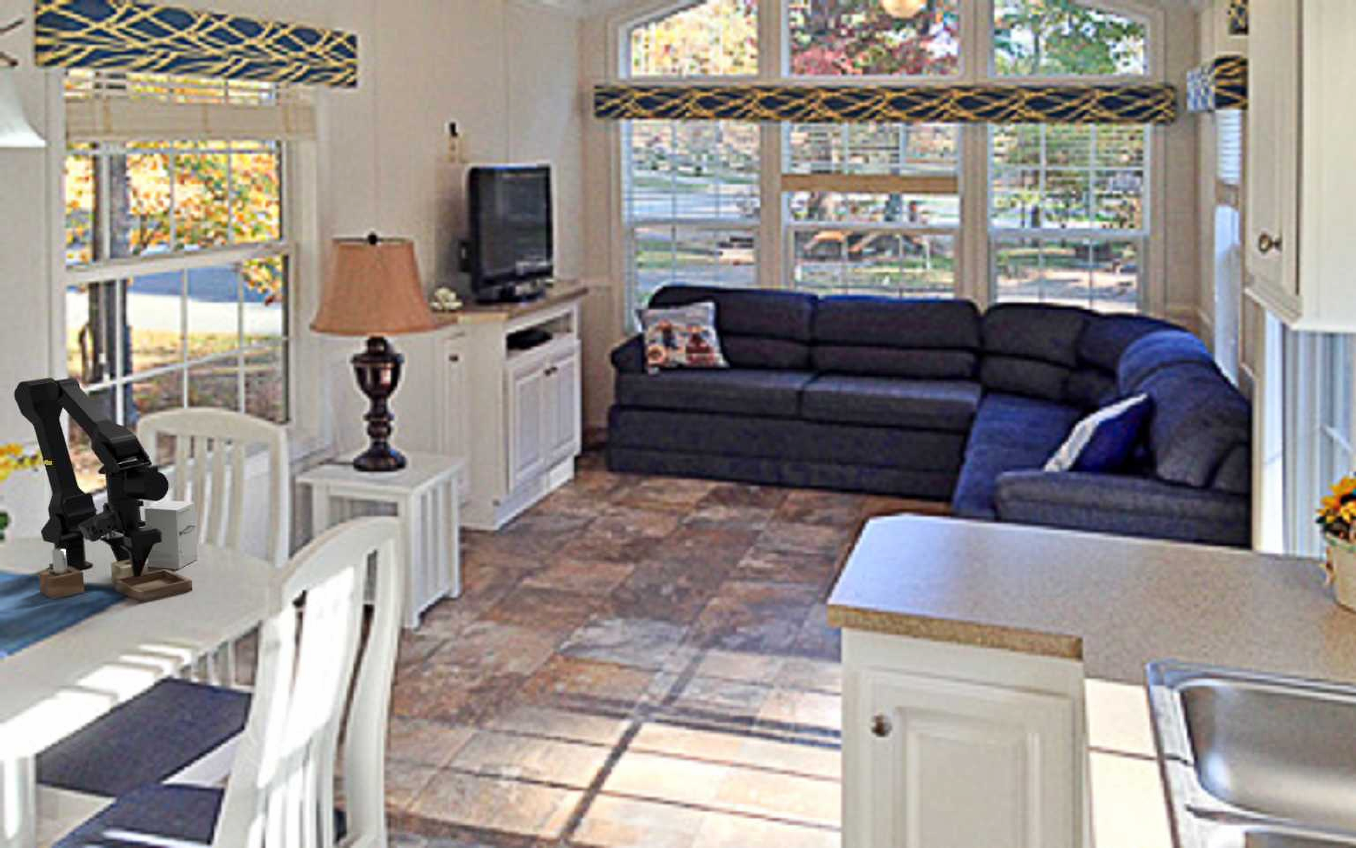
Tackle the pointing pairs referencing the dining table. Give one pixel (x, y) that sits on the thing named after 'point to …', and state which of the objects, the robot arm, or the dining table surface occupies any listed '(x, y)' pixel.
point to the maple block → (124, 569)
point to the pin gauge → (59, 561)
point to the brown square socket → (61, 583)
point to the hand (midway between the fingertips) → (130, 574)
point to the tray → (153, 585)
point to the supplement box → (173, 534)
